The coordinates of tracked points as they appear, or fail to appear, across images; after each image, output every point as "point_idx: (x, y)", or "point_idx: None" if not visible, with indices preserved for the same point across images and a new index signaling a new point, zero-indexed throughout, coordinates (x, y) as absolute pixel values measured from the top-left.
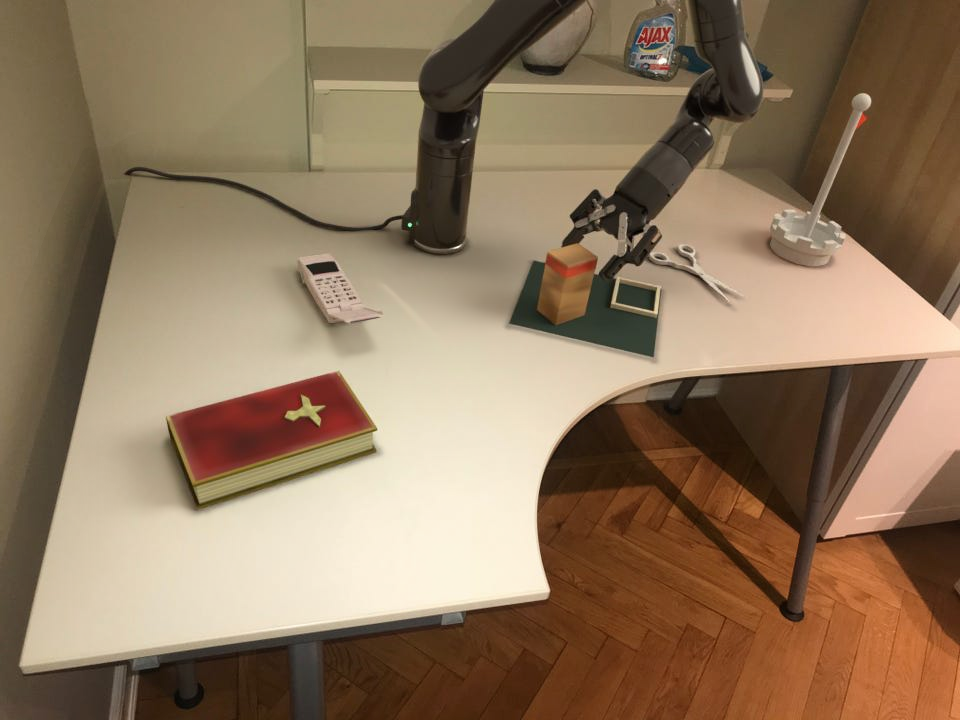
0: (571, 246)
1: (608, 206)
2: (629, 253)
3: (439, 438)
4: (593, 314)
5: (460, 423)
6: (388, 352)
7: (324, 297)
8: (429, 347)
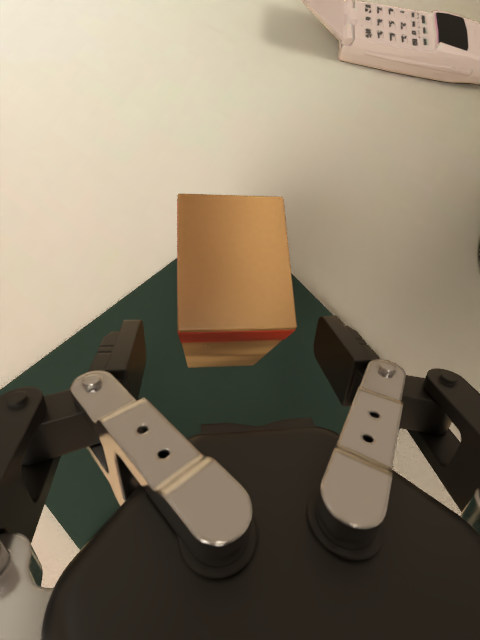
0: (282, 288)
1: (385, 491)
2: (57, 412)
3: (63, 8)
4: (180, 390)
5: (70, 38)
6: (252, 50)
7: (381, 9)
8: (238, 93)
